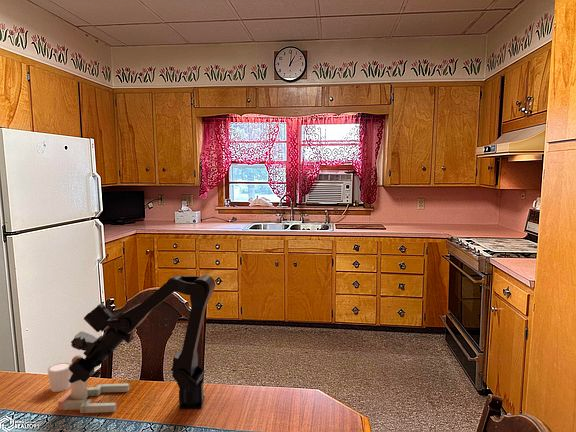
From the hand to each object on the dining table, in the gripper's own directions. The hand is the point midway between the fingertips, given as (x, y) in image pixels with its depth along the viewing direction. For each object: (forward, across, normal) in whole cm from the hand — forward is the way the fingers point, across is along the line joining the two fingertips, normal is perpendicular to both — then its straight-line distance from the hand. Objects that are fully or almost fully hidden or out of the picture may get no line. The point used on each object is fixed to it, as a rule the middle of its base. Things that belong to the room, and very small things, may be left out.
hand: (73, 378), depth 124 cm
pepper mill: (+4, 0, +6) cm, 7 cm away
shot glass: (+12, -9, -1) cm, 15 cm away
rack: (+1, 0, +10) cm, 10 cm away
